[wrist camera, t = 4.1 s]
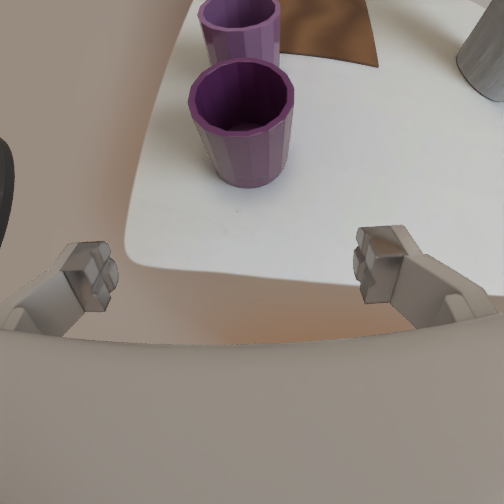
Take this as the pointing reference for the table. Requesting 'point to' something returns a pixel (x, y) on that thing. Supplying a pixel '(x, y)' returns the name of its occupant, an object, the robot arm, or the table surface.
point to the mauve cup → (241, 29)
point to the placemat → (328, 30)
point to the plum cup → (244, 119)
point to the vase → (486, 53)
